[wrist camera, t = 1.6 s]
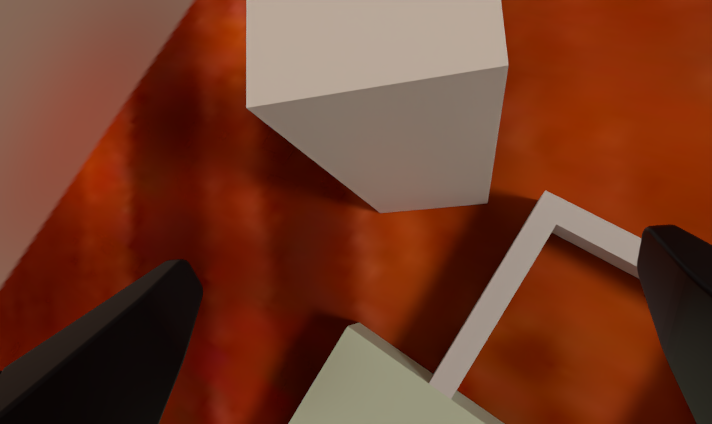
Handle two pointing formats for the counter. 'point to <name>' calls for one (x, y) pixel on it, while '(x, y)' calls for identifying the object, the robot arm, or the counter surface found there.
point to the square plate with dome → (439, 390)
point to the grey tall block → (384, 92)
